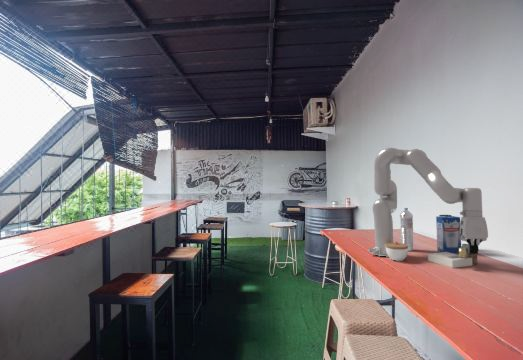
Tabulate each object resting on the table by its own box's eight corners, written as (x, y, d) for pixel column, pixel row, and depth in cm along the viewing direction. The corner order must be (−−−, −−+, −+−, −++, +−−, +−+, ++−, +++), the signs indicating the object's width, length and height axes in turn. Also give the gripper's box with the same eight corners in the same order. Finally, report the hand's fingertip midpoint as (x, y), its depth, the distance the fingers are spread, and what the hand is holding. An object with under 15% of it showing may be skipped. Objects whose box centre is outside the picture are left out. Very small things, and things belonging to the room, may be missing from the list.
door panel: (452, 267, 135) (452, 259, 135) (428, 260, 149) (427, 253, 149) (472, 265, 138) (472, 257, 138) (446, 258, 152) (446, 251, 152)
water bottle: (411, 248, 176) (409, 207, 176) (415, 251, 169) (414, 208, 170) (399, 248, 177) (397, 207, 177) (403, 251, 170) (402, 208, 170)
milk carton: (443, 253, 163) (442, 217, 164) (437, 250, 169) (436, 216, 170) (461, 252, 163) (460, 217, 163) (454, 250, 169) (453, 216, 169)
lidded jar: (386, 261, 148) (386, 243, 149) (385, 256, 159) (384, 239, 159) (410, 263, 145) (409, 244, 145) (406, 257, 155) (406, 240, 155)
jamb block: (471, 264, 139) (470, 255, 140) (459, 261, 145) (459, 252, 145) (477, 264, 141) (477, 254, 141) (465, 261, 146) (465, 251, 146)
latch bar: (463, 251, 146) (462, 243, 146) (473, 252, 143) (472, 244, 143) (457, 257, 134) (456, 248, 135) (467, 258, 132) (467, 249, 132)
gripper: (460, 215, 134) (461, 255, 133) (495, 214, 132) (496, 255, 132) (451, 213, 141) (452, 251, 141) (484, 213, 139) (486, 251, 139)
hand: (474, 253), depth 136 cm, fingers closed
